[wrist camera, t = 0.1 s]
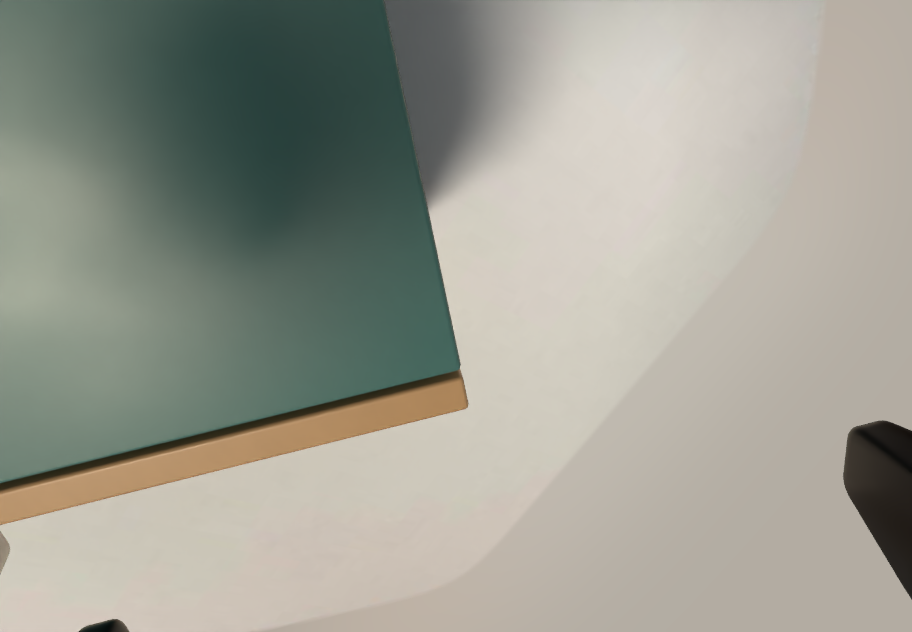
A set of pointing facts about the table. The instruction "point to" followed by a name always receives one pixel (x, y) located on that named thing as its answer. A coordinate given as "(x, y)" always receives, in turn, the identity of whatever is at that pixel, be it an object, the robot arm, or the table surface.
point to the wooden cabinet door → (228, 448)
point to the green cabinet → (203, 221)
